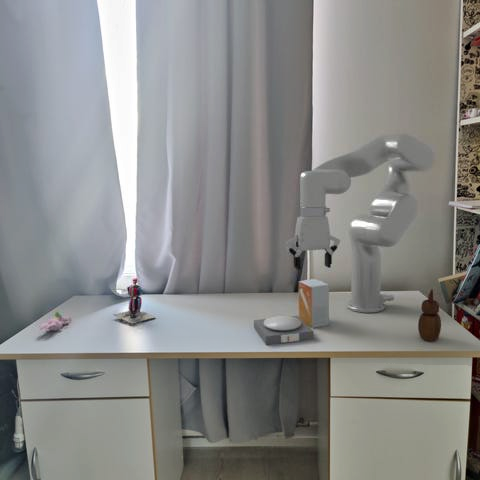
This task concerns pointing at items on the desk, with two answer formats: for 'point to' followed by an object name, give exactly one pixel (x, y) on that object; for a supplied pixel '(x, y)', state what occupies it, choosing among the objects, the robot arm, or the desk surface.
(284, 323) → the scale
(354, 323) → the desk surface
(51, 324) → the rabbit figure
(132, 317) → the statue
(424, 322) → the wooden figurine
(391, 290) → the desk surface
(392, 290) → the desk surface
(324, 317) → the small box
